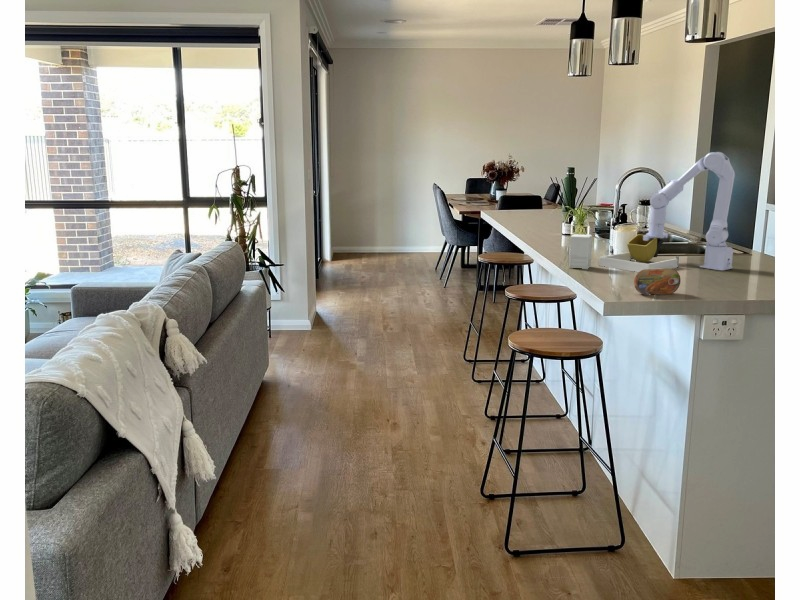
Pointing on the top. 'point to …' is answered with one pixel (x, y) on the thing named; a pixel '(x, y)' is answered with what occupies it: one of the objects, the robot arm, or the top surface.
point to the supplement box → (580, 251)
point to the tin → (657, 281)
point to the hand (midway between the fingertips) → (653, 256)
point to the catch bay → (634, 263)
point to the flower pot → (642, 248)
